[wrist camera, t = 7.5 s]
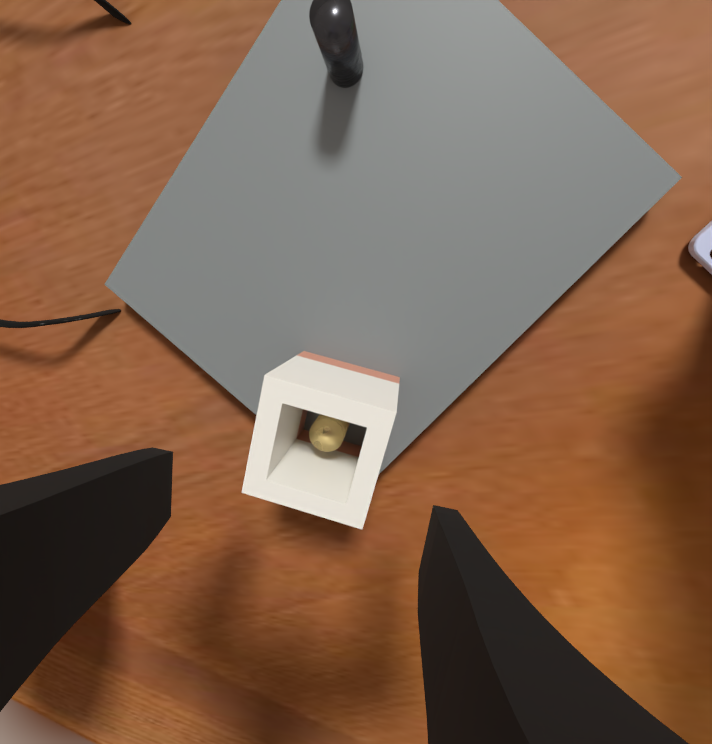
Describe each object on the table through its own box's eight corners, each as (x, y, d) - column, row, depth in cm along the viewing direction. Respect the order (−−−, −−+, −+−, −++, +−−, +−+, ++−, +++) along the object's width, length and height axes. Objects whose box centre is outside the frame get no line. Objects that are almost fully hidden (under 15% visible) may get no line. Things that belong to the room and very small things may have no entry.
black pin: (371, 63, 15) (362, 8, 12) (347, 95, 15) (333, 50, 12) (343, 38, 15) (327, -24, 12) (321, 71, 15) (300, 19, 12)
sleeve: (399, 377, 17) (396, 412, 12) (374, 466, 18) (362, 529, 14) (303, 350, 18) (264, 374, 13) (284, 439, 19) (241, 492, 14)
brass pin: (359, 411, 18) (350, 435, 15) (341, 431, 18) (328, 458, 15) (337, 391, 18) (324, 411, 15) (319, 412, 18) (302, 435, 15)
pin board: (656, 187, 16) (682, 177, 14) (357, 483, 20) (353, 499, 19) (366, -90, 15) (362, -131, 13) (126, 284, 20) (104, 284, 18)
